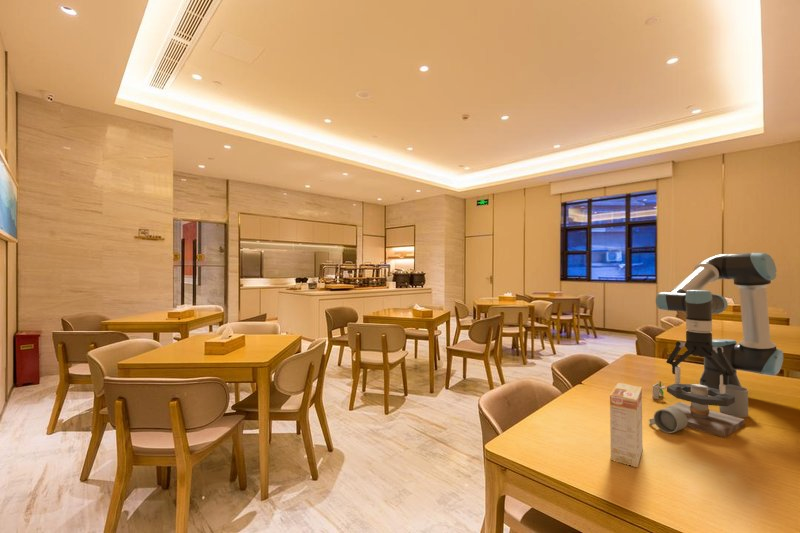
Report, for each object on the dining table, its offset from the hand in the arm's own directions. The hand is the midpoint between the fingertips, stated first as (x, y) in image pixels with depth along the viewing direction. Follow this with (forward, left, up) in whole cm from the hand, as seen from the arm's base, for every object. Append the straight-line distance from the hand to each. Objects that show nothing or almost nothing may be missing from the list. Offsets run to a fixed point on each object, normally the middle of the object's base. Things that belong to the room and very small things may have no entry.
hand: (699, 388), depth 135 cm
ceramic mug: (+18, -4, -13) cm, 22 cm away
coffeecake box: (+49, -2, -12) cm, 51 cm away
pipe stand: (0, 0, -12) cm, 12 cm away
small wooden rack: (-16, -20, -13) cm, 29 cm away
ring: (0, 0, -3) cm, 3 cm away
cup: (-21, +4, -12) cm, 25 cm away
